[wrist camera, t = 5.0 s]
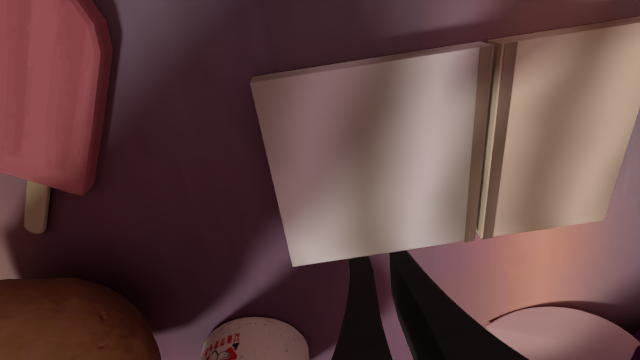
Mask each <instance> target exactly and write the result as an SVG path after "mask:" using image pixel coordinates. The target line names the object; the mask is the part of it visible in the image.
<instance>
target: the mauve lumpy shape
mask: <svg viewBox="0 0 640 360" xmlns="http://www.w3.org/2000/svg"><path fill="white" fill-rule="evenodd" d="M485 329H486V330H488V331H489V332H490V333H492V334H493V335H494V336H496V337H497V338H498V339H500V340H501V341H502V342H504V343H505V344H507V345H508V346H510V347H511V348H513V349H514V350H516V351H517V352H519V353H520V354H522V355H523V356H525V357H526V358H528V359H529V360H640V330H639V331H638V332H637V333H636V334H635V335H634V336H632V335H630V334H629V333H628V332H626V331H625V330H624V329H622V328H621V327H619V326H617V325H616V324H614V323H612V322H610V321H608V320H606V319H604V318H601V317H599V316H597V315H594V314H591V313H587V312H584V311H581V310H576V309H571V308H564V307H534V308H527V309H523V310H519V311H516V312H513V313H510V314H507V315H505V316H503V317H500V318H498V319H496V320H495V321H493V322H492V323H490V324H489V325H488V326H487V327H486V328H485Z"/></svg>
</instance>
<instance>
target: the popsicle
mask: <svg viewBox="0 0 640 360" xmlns="http://www.w3.org/2000/svg"><path fill="white" fill-rule="evenodd" d="M112 56H113V47H112V42H111V38H110V33H109V29H108V24H107V21H106V20H105V18H104V17H103V15H102V14H101V12H100V11H99V10H98V8H97V7H96V5H95V4H94V2H93V1H92V0H0V172H1V173H5V174H8V175H12V176H15V177H18V178H22V179H25V180H27V190H26V204H25V218H24V227H25V228H26V230H27V231H29V232H31V233H35V234H41V233H43V232H44V231H45V230H46V228H47V219H48V210H49V201H50V192H51V187H52V188H55V189H59V190H62V191H65V192H69V193H72V194H75V195H84V194H85V193H86V192H87V191H88V190H89V189H90V188H91V187H92V186H93V185H94V180H95V174H96V168H97V162H98V156H99V150H100V144H101V138H102V131H103V124H104V117H105V109H106V101H107V94H108V86H109V79H110V71H111V63H112Z"/></svg>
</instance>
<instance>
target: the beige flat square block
mask: <svg viewBox="0 0 640 360" xmlns="http://www.w3.org/2000/svg"><path fill="white" fill-rule="evenodd" d="M493 53H494V45H492V44H488V43H484V42H481V41H478V42H472V43H465V44H459V45H452V46H446V47H440V48H433V49H427V50H420V51H414V52H407V53H401V54H395V55H388V56H382V57H375V58H369V59H363V60H356V61H350V62H343V63H337V64H330V65H324V66H318V67H311V68H305V69H298V70H292V71H286V72H279V73H273V74H266V75H260V76H253V78H252V80H251V82H250V86H251V90H252V94H253V99H254V103H255V107H256V111H257V116H258V120H259V124H260V128H261V133H262V137H263V141H264V146H265V150H266V154H267V158H268V163H269V167H270V171H271V176H272V180H273V184H274V188H275V193H276V197H277V201H278V206H279V210H280V214H281V218H282V223H283V227H284V231H285V236H286V240H287V244H288V248H289V253H290V257H291V261H292V266H293V267H296V266H302V265H309V264H315V263H322V262H329V261H335V260H342V259H348V258H355V257H362V256H368V255H375V254H381V253H388V252H395V251H401V250H408V249H415V248H421V247H428V246H434V245H441V244H448V243H454V242H461V241H465V242H468V241H474V239H475V234H476V224H477V214H478V204H479V194H480V184H481V174H482V164H483V154H484V144H485V134H486V123H487V113H488V103H489V93H490V83H491V73H492V63H493Z"/></svg>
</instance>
